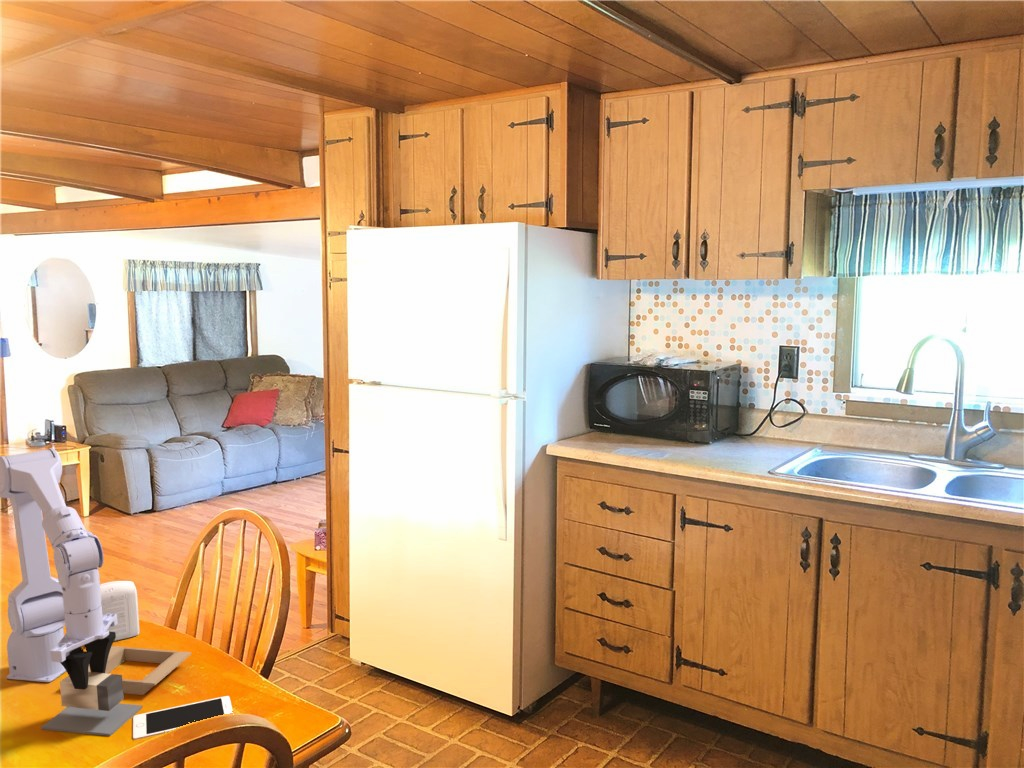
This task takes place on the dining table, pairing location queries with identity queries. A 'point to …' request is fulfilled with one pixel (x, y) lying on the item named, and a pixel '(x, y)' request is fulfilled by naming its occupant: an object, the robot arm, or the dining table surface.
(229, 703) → the cell phone
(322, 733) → the dining table surface
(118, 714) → the mat
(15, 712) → the dining table surface
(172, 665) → the tan rectangular frame
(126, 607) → the photo printer
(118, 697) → the box
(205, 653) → the dining table surface
